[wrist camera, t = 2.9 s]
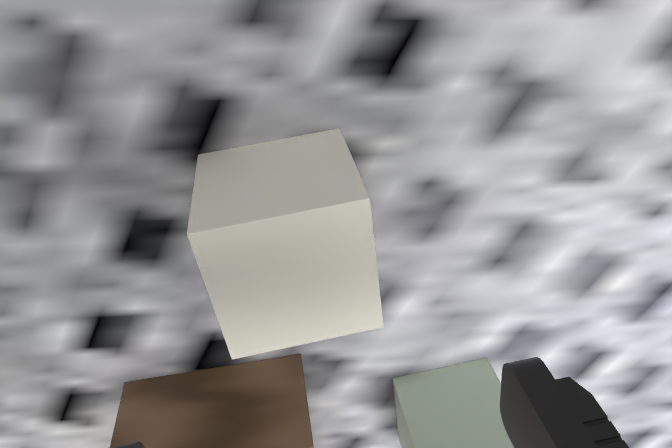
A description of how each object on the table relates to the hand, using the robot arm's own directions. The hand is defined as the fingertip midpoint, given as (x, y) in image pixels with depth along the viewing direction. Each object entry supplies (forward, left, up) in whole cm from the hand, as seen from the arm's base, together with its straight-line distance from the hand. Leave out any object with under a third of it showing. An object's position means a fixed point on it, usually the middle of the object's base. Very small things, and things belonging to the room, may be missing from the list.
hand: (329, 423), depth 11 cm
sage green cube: (+6, -14, -10) cm, 18 cm away
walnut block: (-5, -12, -10) cm, 16 cm away
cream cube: (0, 0, -10) cm, 10 cm away
